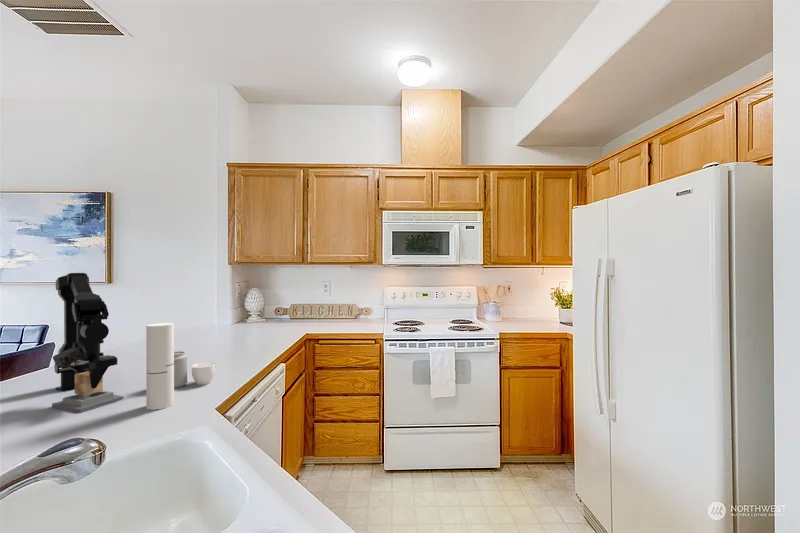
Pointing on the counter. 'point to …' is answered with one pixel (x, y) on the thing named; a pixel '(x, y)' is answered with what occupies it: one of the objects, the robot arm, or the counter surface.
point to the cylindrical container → (159, 365)
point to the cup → (203, 373)
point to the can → (180, 369)
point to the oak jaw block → (86, 384)
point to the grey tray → (87, 401)
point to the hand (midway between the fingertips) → (88, 387)
